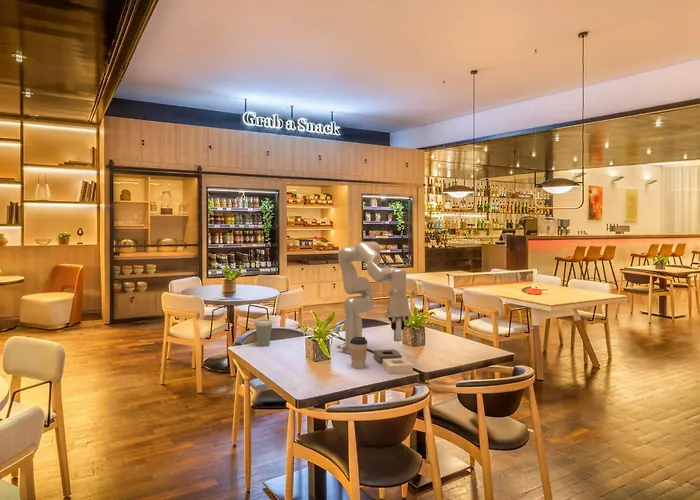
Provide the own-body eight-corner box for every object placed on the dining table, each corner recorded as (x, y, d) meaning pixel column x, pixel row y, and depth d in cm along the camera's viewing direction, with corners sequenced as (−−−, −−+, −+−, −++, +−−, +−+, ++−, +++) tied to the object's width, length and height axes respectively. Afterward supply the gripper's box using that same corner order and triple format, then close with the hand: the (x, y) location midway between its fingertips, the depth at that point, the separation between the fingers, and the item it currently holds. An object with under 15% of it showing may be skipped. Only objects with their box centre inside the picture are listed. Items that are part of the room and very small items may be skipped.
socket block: (389, 374, 239) (389, 366, 239) (382, 366, 251) (382, 359, 251) (412, 372, 242) (412, 364, 242) (404, 365, 254) (404, 357, 253)
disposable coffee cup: (276, 344, 292) (276, 319, 292) (263, 348, 283) (263, 323, 282) (263, 342, 298) (263, 317, 297) (250, 345, 289) (250, 320, 288)
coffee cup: (354, 370, 245) (355, 340, 244) (346, 365, 253) (346, 336, 252) (370, 367, 249) (370, 338, 248) (361, 363, 257) (362, 334, 256)
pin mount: (379, 364, 256) (379, 356, 256) (373, 357, 267) (373, 350, 267) (401, 362, 258) (401, 355, 258) (394, 356, 270) (394, 349, 270)
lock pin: (395, 341, 243) (395, 317, 243) (392, 339, 247) (392, 316, 247) (402, 341, 244) (403, 317, 244) (400, 339, 248) (400, 316, 248)
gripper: (384, 295, 239) (384, 332, 240) (416, 294, 243) (416, 330, 244) (380, 292, 246) (379, 328, 247) (411, 292, 250) (410, 327, 251)
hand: (397, 329), depth 245 cm, fingers closed on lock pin, 4 cm apart
